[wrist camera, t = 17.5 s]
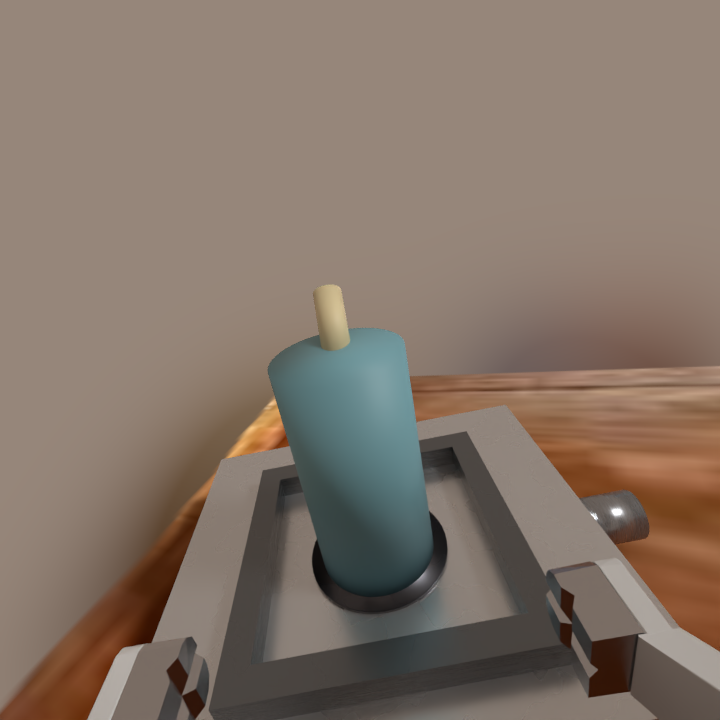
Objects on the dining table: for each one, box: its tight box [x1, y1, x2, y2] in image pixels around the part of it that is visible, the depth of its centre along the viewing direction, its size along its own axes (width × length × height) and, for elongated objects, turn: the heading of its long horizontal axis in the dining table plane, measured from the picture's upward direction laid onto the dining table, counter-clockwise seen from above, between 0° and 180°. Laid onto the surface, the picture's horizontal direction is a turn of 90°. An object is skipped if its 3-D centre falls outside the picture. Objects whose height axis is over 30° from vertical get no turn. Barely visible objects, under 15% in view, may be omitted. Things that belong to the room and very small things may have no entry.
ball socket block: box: [152, 405, 680, 720], centre depth 21 cm, size 23×18×5 cm
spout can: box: [268, 285, 434, 597], centre depth 18 cm, size 5×6×12 cm
